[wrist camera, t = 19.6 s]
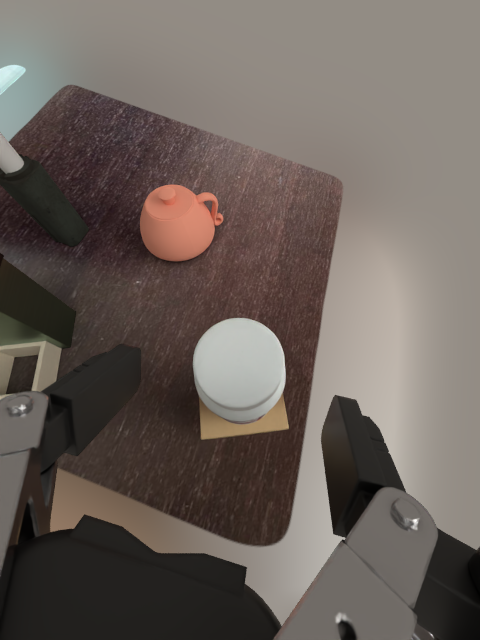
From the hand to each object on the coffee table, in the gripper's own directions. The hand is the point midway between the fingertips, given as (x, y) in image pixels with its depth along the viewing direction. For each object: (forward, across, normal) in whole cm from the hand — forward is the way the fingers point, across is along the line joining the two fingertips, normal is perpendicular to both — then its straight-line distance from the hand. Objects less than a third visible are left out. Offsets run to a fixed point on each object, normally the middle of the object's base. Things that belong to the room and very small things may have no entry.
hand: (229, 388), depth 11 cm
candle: (+36, +38, +2) cm, 52 cm away
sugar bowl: (+38, +17, -1) cm, 42 cm away
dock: (+18, +31, +19) cm, 41 cm away
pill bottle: (+7, 0, +5) cm, 9 cm away
